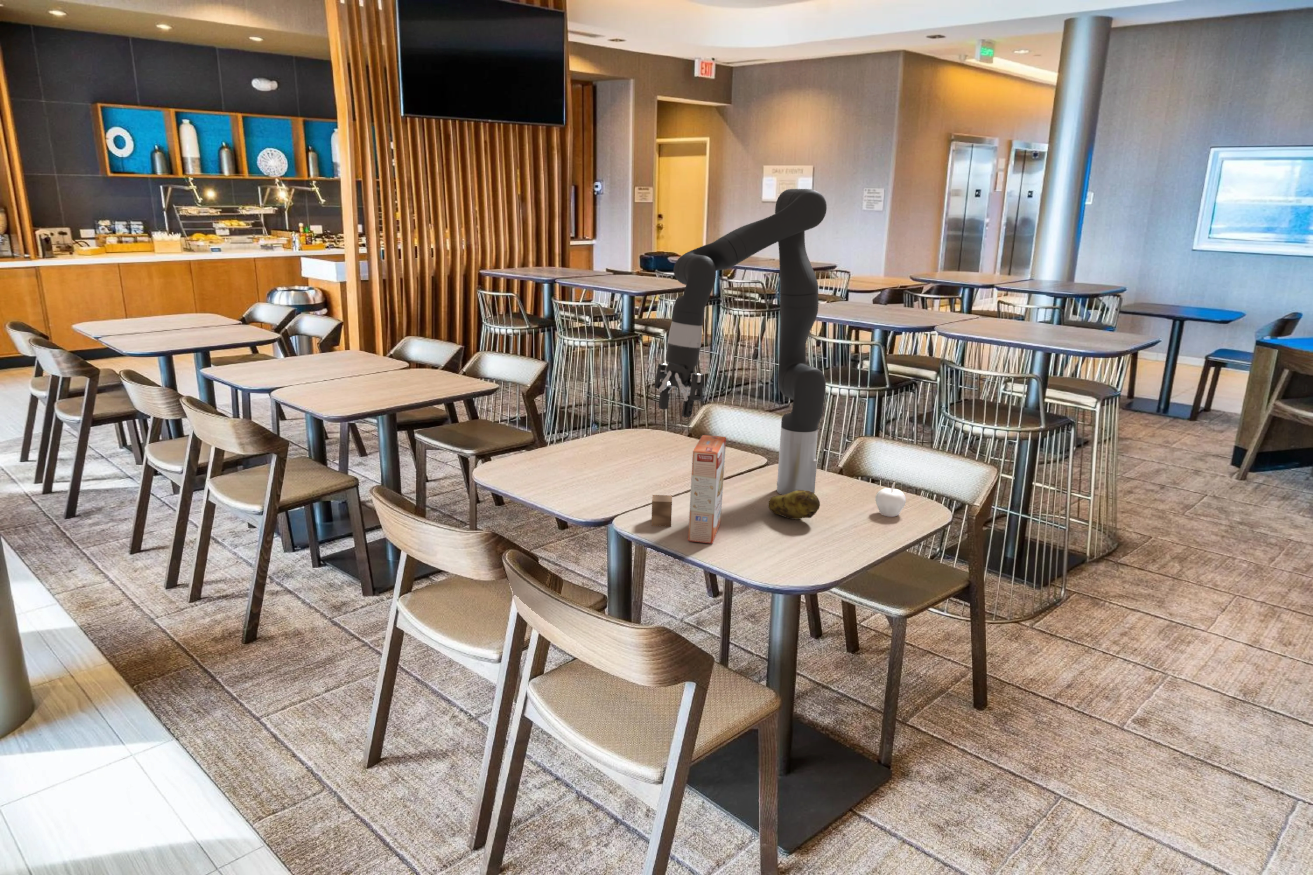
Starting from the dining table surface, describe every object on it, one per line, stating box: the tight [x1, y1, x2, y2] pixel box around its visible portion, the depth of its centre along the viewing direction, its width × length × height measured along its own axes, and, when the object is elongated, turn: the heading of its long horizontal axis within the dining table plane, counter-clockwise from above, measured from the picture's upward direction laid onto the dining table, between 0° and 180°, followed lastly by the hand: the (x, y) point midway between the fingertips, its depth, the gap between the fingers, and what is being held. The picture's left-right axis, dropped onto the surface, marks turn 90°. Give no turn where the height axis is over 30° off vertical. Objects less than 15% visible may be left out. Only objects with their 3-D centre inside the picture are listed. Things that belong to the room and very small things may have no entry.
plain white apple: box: [875, 481, 907, 518], centre depth 209 cm, size 7×7×8 cm
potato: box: [767, 490, 821, 520], centre depth 203 cm, size 8×13×8 cm, turn 25°
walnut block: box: [650, 494, 673, 528], centre depth 199 cm, size 4×4×6 cm
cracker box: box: [687, 434, 727, 545], centre depth 192 cm, size 14×6×21 cm, turn 168°
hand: (674, 412), depth 201 cm, fingers open, 8 cm apart
